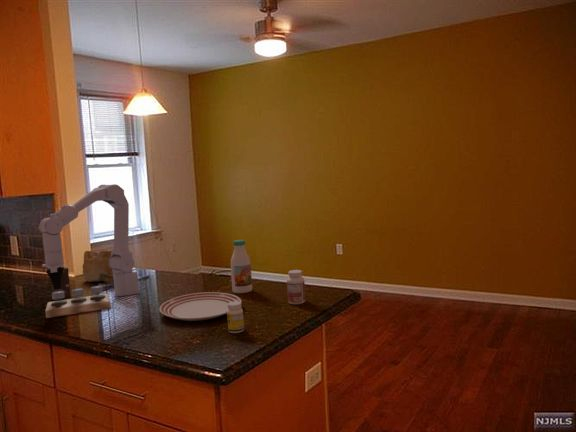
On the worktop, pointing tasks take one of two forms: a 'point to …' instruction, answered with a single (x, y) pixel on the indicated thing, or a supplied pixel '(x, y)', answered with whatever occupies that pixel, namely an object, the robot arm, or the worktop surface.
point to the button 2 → (96, 289)
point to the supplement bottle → (235, 317)
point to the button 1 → (58, 295)
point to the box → (64, 284)
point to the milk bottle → (240, 268)
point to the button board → (77, 305)
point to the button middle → (77, 292)
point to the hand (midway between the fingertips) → (57, 288)
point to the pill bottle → (295, 287)
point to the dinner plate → (198, 306)
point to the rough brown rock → (97, 267)
